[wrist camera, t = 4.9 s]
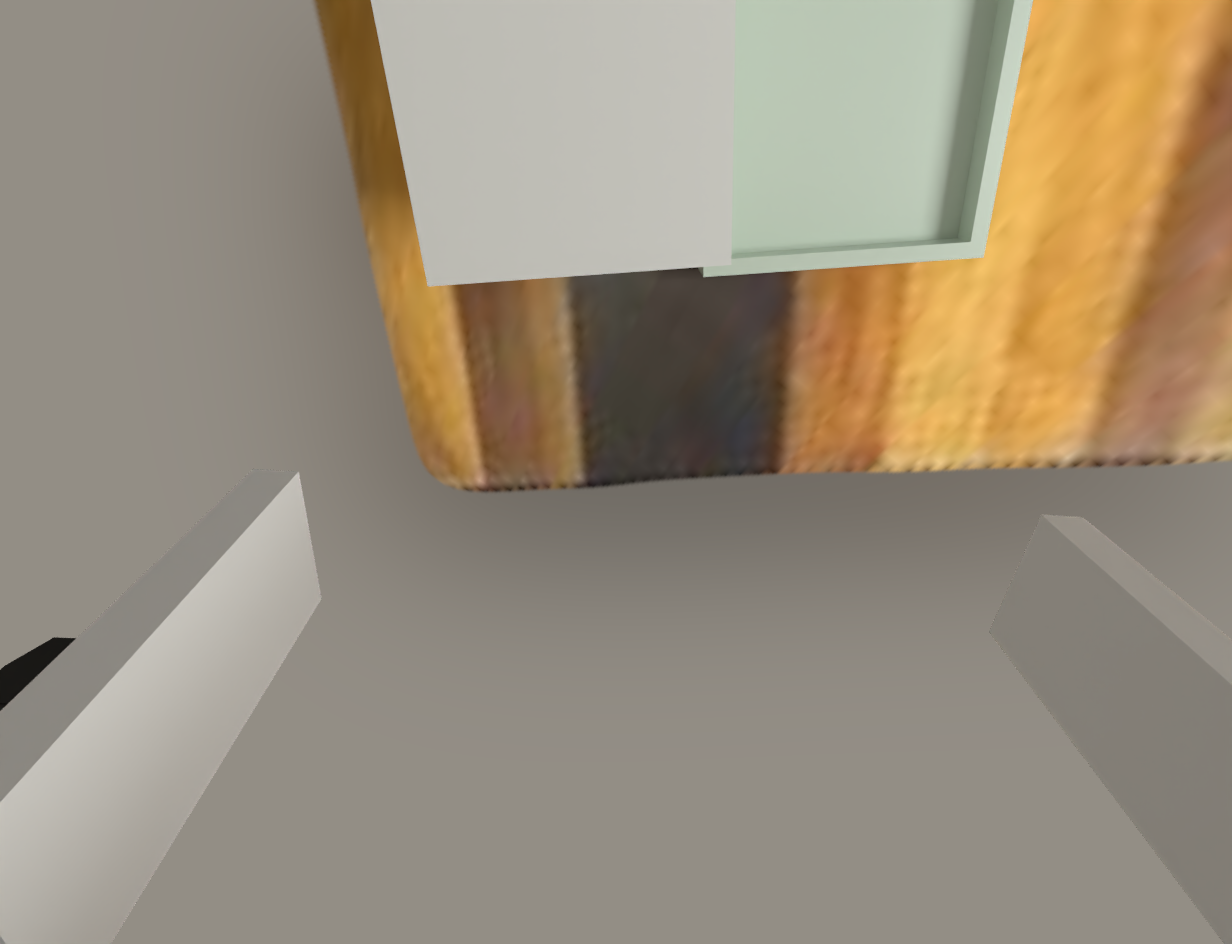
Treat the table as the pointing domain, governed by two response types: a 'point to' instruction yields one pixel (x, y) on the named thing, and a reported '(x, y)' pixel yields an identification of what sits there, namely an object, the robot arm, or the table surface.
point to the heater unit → (563, 133)
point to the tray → (868, 129)
